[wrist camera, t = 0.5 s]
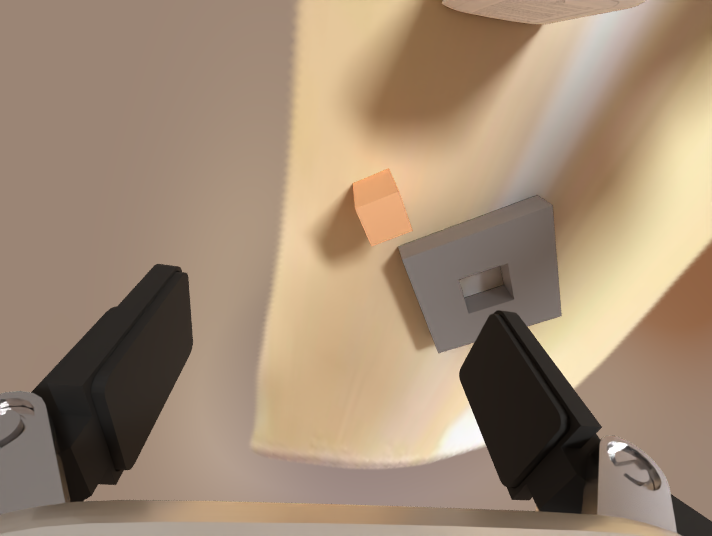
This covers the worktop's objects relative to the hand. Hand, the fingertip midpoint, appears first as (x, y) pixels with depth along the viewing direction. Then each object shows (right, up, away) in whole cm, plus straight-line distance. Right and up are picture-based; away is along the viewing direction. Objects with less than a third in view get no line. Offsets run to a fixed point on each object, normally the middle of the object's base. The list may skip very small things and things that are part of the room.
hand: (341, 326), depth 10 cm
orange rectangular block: (+3, +10, +24) cm, 26 cm away
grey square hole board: (+16, +1, +30) cm, 34 cm away
